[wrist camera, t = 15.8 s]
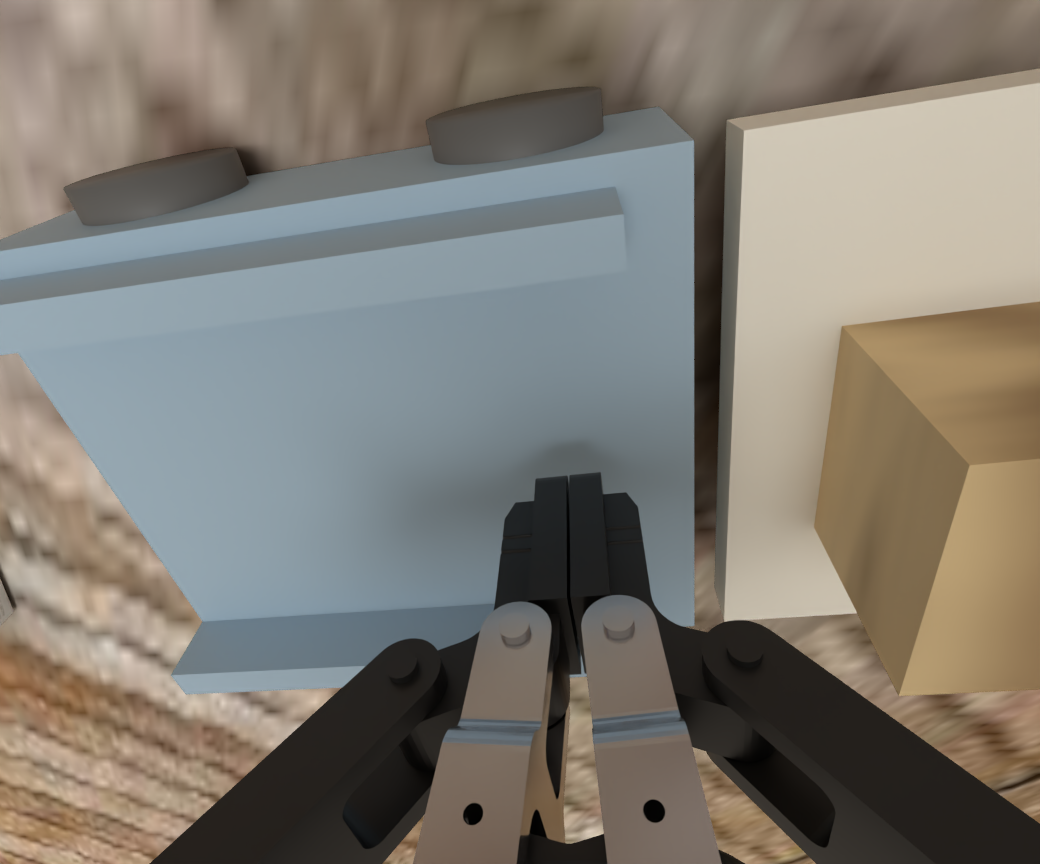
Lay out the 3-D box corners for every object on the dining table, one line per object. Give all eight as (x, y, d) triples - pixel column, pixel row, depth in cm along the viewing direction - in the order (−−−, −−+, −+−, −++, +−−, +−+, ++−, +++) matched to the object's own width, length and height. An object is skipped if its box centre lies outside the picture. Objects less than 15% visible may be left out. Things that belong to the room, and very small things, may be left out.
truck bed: (657, 70, 15) (717, 105, 9) (671, 532, 24) (706, 700, 18) (80, 172, 17) (-164, 252, 11) (285, 561, 26) (205, 719, 20)
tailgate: (726, 120, 12) (1420, 6, 11) (714, 586, 20) (1118, 558, 19) (743, 130, 11) (1523, 4, 10) (724, 621, 19) (1156, 595, 17)
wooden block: (1149, 287, 13) (1441, 421, 8) (1056, 507, 16) (1233, 680, 12) (842, 325, 13) (969, 465, 9) (814, 527, 17) (898, 695, 12)
